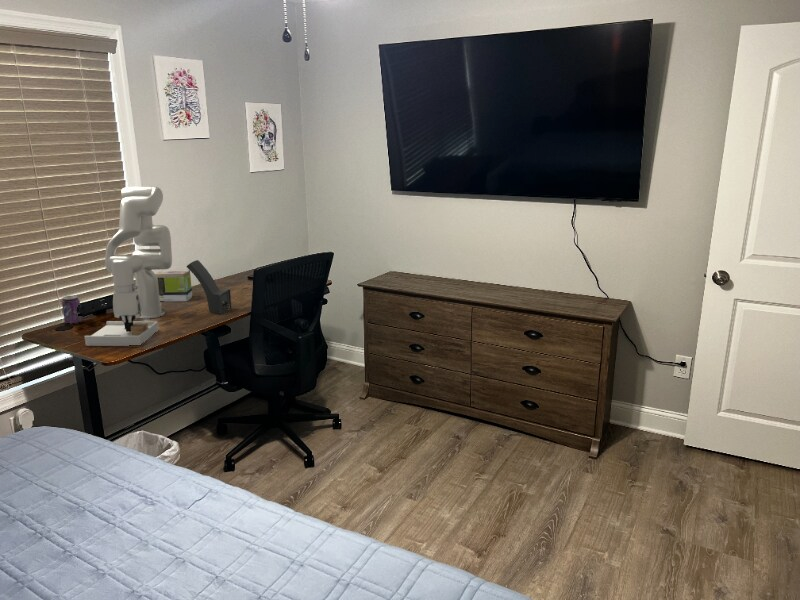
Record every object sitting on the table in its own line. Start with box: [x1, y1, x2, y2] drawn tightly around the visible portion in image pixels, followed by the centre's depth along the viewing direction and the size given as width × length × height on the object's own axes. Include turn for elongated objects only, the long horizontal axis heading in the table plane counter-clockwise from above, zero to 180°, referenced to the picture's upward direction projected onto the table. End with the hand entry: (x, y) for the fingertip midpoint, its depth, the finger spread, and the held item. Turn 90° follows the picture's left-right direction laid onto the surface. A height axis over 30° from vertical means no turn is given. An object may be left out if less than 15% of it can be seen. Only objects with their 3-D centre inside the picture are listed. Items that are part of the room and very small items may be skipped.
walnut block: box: [131, 323, 148, 335], centre depth 253 cm, size 5×5×4 cm
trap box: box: [84, 320, 160, 347], centre depth 254 cm, size 20×22×4 cm
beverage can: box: [61, 294, 83, 325], centre depth 272 cm, size 7×7×12 cm
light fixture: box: [186, 259, 232, 315], centre depth 290 cm, size 11×17×24 cm, turn 81°
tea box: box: [155, 269, 193, 302], centre depth 310 cm, size 15×10×15 cm, turn 92°
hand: (129, 330), depth 254 cm, fingers closed
